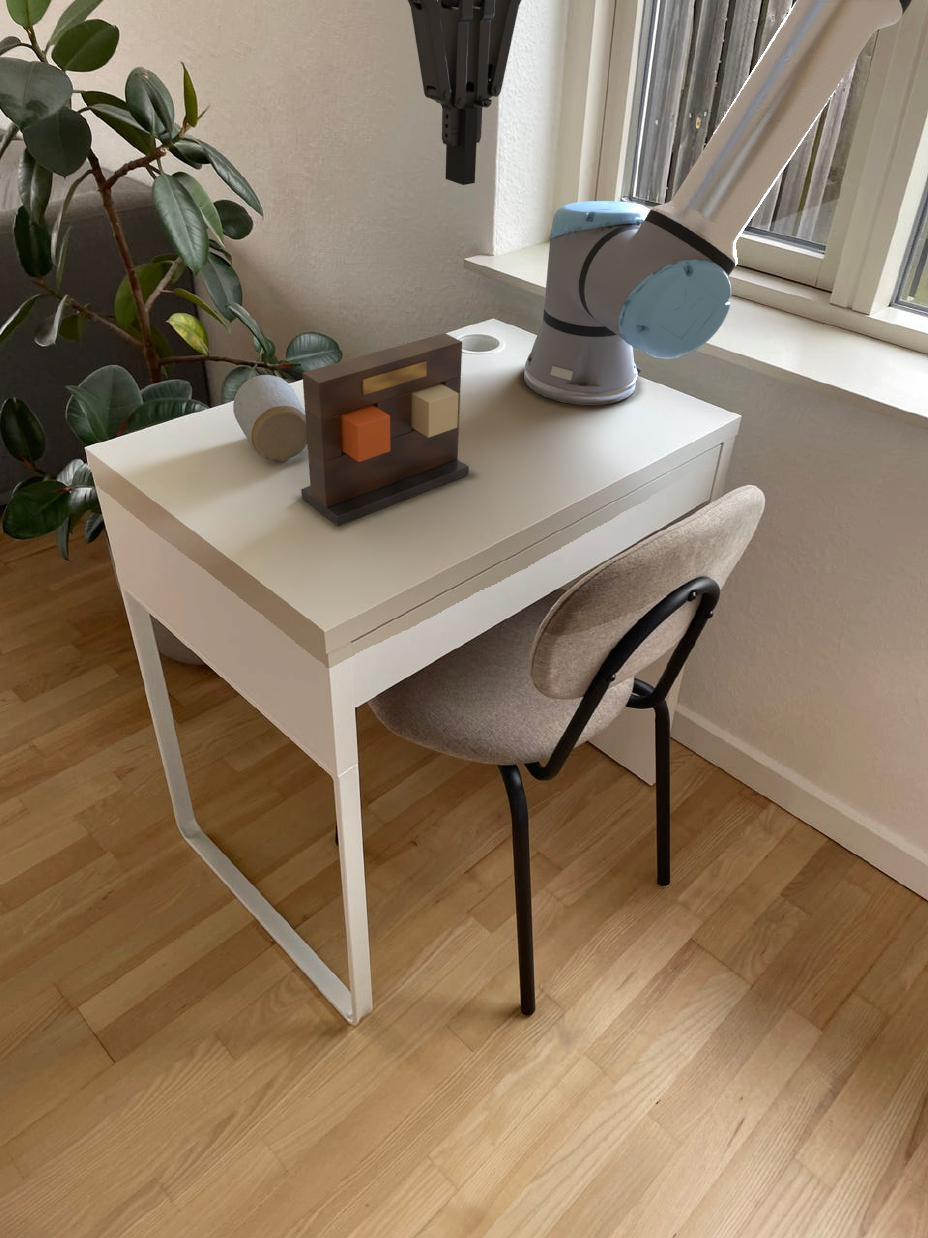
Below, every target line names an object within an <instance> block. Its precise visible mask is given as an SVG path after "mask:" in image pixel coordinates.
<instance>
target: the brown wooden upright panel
mask: <svg viewBox="0 0 928 1238" xmlns="http://www.w3.org/2000/svg"><path fill="white" fill-rule="evenodd" d="M462 359H463V341H462V340H459V339H458V338H456V337H454V336H452V335H450V334H448V333H445V332H442V333H440V334H435V335H433V336H430V337H429V336H428V337H425V338H422V339H418V340H414V341H411V342H407V343H403V344H400V345H396V346H393V347H390V348H386V349H382V350H379V351H375V352H371V353H368V354H364V355H360V356H358V357H353V358H350V359H346V360H343V361H339V362H336V363H331V364H329V365H325V366H322V367H318V368H314V369H311V370H307V371H303V372H302V387H303V388H302V389H303V401H304V410H305V417H306V431H307V445H306V446H307V457H308V471H309V484H310V485H309V486H305V487H303V488H301V489H300V494H301V499H302V500H303V501H305V502H306V503H307V504H308V505H309V506H311V507H312V508H314V509H315V510H316V511H317V512H319V513H320V514H321V515H323V516H324V517H326V519H327V520H330V522H332V523H333V524H335V526H337V527H340V526H342V525H345V524H347V523H350V522H352V521H355V520H358V519H360V518H363V517H365V516H368V515H370V514H374V513H375V512H378V511H380V510H383V509H387V508H388V507H391V506H394V505H395V504H399V503H402V502H403V501H406V500H409V499H412V498H414V497H417V496H420V495H421V494H424V493H427V492H430V491H432V490H434V489H437V488H439V487H442V486H445V485H447V484H450V483H452V482H455V481H457V480H460V479H463V478H465V477H467V476H469V472H470V466H469V465H468V464H466V463H464V462H463V461H461V460H459V459H458V458H459V457H458V456H459V433H460V412H461V411H460V410H461V409H460V408H461V386H462V385H461V384H462ZM438 383H441V384H443V385H444V386H446V387H448V388H450V389H452V390H453V391H455V392H457V393H459V395H458V421H457V428H455V429H452V430H449V431H446V432H443V433H440V434H437V435H435V436H432V437H429V438H428V437H427V436H425V435H423V434H422V433H420V432H419V431H417V430H415V429H414V428H412V427H411V392H413V391H416V390H419V389H422V388H425V387H428V386H432V385H435V384H438ZM371 404H372V405H373V406H375V407H377V408H378V409H380V410H381V411H383V412H385V413H386V414H388V415H390V451H389V452H386V453H383V454H380V455H378V456H375V457H372V458H369V459H366V460H363V461H360V462H358V461H356V460H355V459H353V458H352V457H351V456H349V455H348V454H346V453H345V452H343V451H342V450H341V434H340V415H339V414H343V413H346V412H349V411H352V410H355V409H358V408H362V407H365V406H368V405H371Z"/></svg>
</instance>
